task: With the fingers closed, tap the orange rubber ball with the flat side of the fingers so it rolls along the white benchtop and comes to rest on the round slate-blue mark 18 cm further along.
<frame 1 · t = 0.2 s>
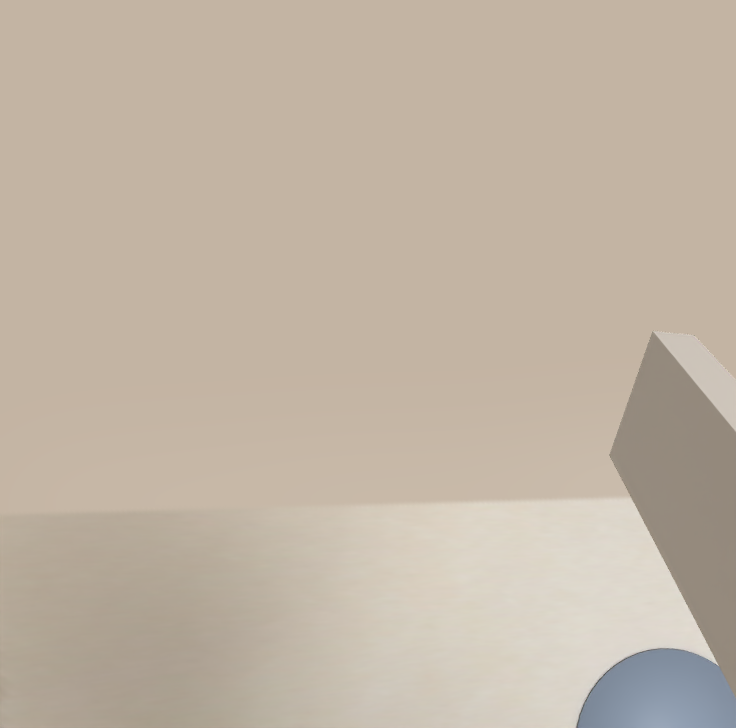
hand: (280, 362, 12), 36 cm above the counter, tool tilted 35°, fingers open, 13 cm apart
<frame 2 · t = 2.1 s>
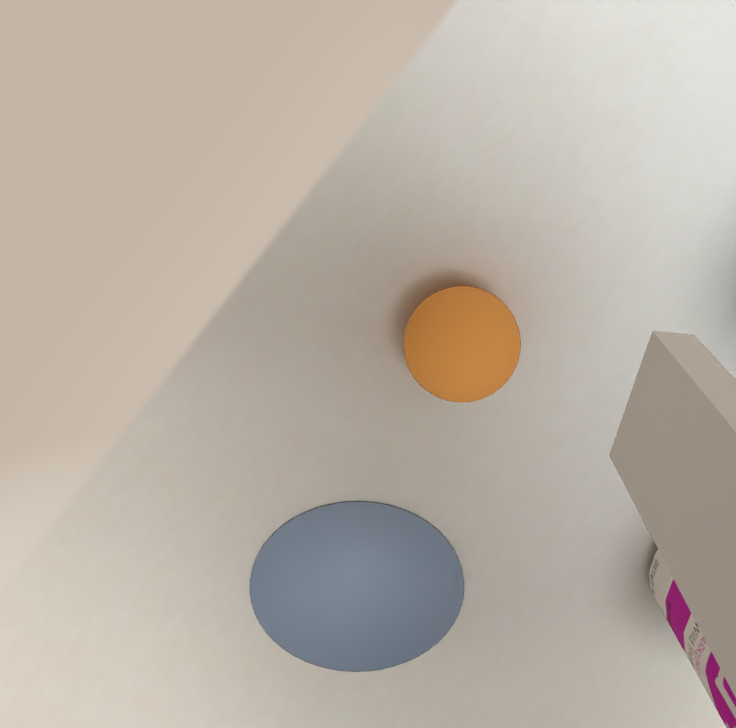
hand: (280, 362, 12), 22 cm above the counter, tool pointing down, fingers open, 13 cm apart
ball: (461, 344, 33), on the counter
supplement can: (711, 557, 42), on the counter
slate mark: (357, 590, 42), on the counter
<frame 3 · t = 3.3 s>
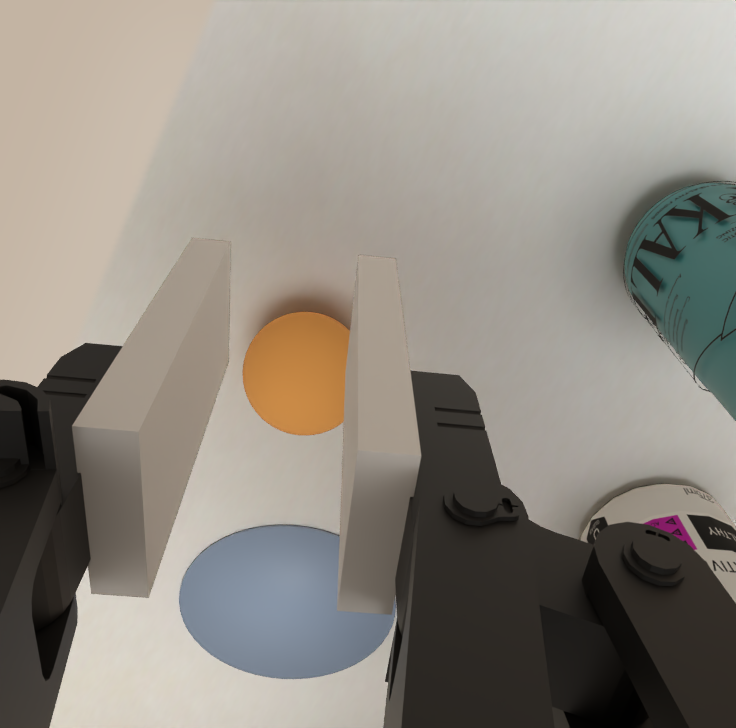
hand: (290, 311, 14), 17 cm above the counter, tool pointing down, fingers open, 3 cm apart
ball: (305, 373, 31), on the counter
supplement can: (646, 529, 40), on the counter
slate mark: (288, 606, 42), on the counter
beverage bottle: (676, 238, 31), on the counter
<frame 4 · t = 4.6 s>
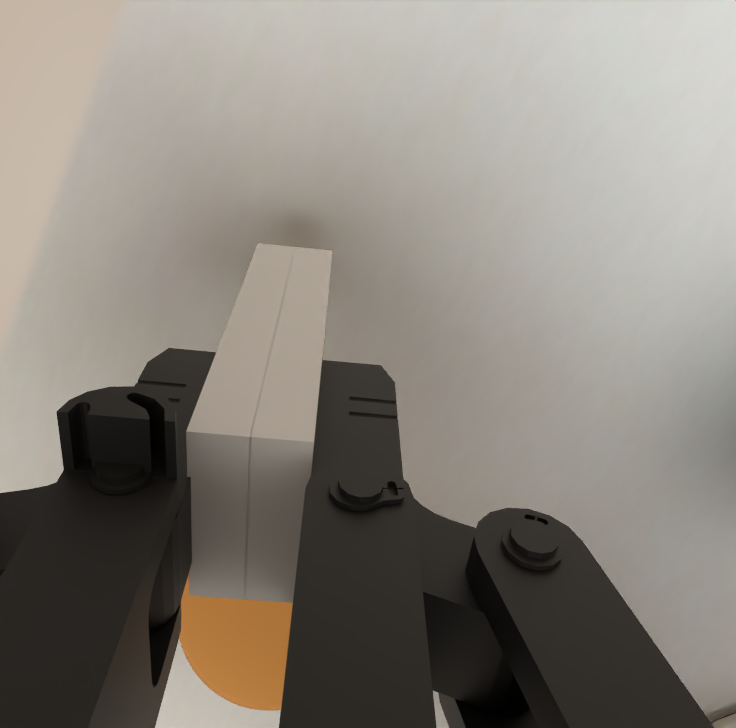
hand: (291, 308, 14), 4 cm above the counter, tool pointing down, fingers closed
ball: (275, 603, 20), on the counter
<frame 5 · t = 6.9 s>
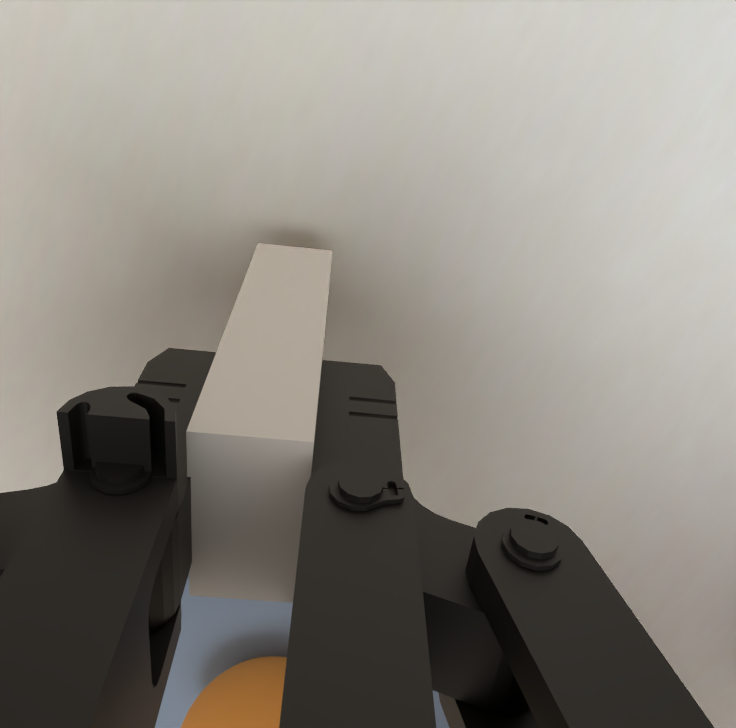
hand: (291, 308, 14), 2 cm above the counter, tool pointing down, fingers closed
slate mark: (270, 689, 23), on the counter
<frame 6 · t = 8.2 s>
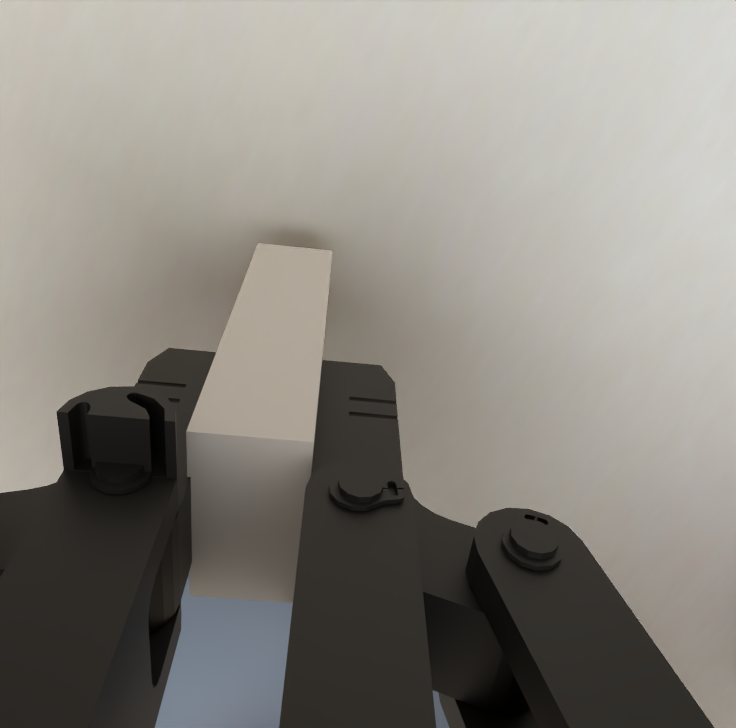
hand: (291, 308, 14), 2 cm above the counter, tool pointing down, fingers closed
slate mark: (270, 689, 23), on the counter
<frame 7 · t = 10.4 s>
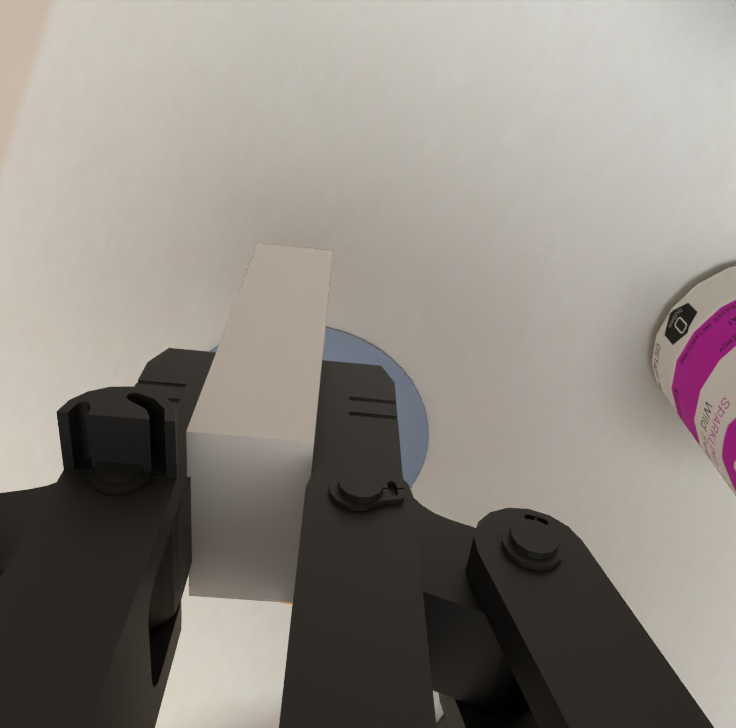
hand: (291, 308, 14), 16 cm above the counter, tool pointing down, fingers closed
supplement can: (732, 334, 33), on the counter
slate mark: (300, 438, 35), on the counter
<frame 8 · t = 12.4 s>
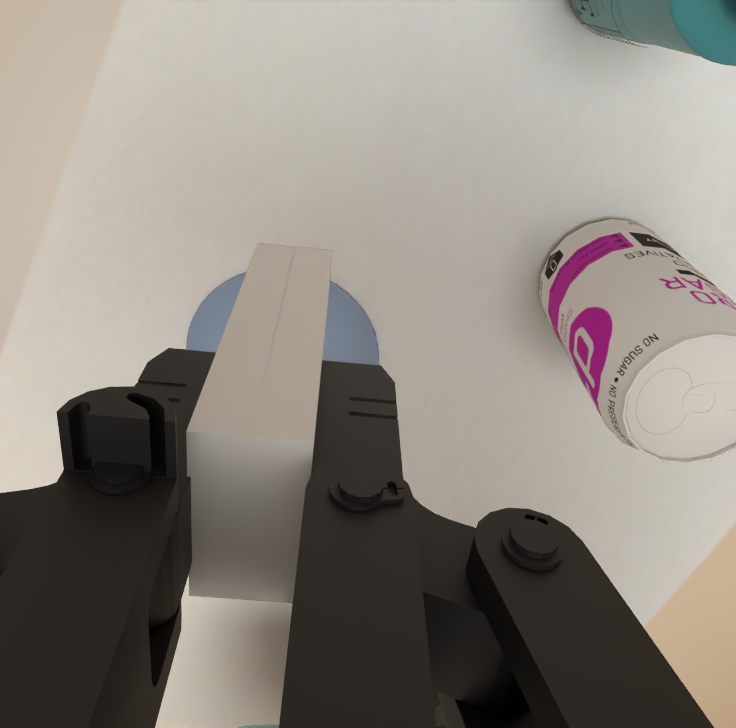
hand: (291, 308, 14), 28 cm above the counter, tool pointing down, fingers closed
supplement can: (599, 276, 45), on the counter
slate mark: (283, 357, 47), on the counter
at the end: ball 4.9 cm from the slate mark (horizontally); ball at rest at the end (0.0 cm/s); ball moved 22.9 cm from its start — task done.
